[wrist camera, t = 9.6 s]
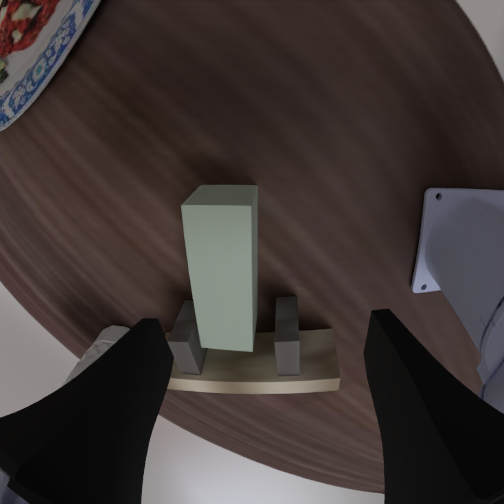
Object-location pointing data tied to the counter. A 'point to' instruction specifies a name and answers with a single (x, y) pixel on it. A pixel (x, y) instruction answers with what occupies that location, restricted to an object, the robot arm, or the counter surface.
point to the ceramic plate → (35, 47)
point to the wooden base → (255, 358)
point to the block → (223, 263)
